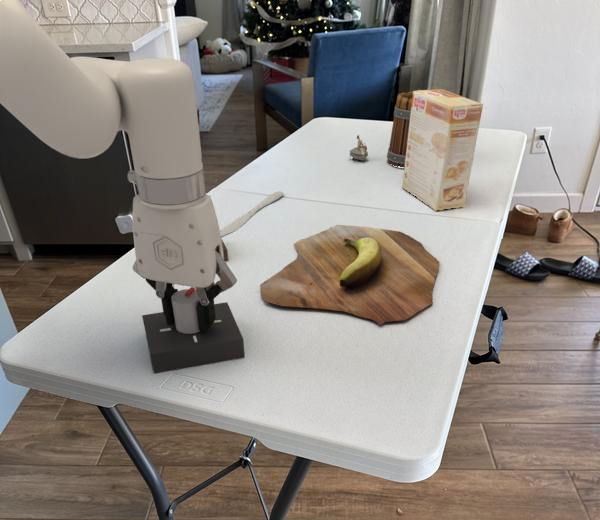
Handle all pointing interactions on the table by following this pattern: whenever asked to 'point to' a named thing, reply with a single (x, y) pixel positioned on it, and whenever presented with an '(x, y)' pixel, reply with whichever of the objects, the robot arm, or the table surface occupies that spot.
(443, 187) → the coffeecake box
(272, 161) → the table surface
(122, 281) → the table surface
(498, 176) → the table surface
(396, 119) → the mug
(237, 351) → the dial panel
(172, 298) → the dial
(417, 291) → the cutting board
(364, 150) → the figurine
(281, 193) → the butter knife
